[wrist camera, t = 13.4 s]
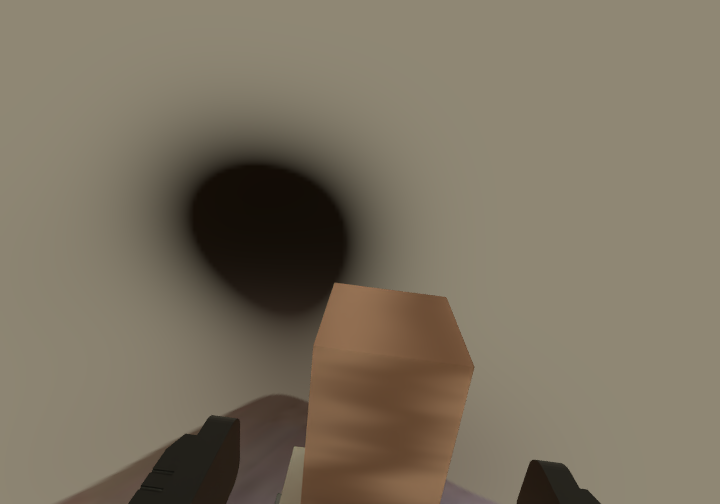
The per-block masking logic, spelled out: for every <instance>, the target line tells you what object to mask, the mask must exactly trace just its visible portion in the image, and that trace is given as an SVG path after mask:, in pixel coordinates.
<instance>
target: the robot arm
mask: <svg viewBox="0 0 720 504" xmlns="http://www.w3.org/2000/svg"><path fill="white" fill-rule="evenodd" d="M239 461H240V421H239V419H236V418H229V417H221V416H214V415H212V416H210V417H209V418H208V419H207V421H206V422H205V424H204V425H203V427H202V428H201V430H200V432H199V433H198V435H191V434H185V435H183V436H182V437H181V438H180V439H178V440H177V441H176V442H175V443H173V444H172V445H171V446H170V447H168V448H167V449H166V450H165V452H164V453H163V455H162V456H161V458H160V459H159V460H158V462H157V463H156V465H155V466H154V468H153V470H152V472H151V473H149V475H148V476H147V478H146V479H145V480H144V482H143V483H142V485H141V488H140V490H137V492H136V493H135V495H134V496H133V498H132V499H131V500H130V502H129V503H128V504H226V502H227V500H228V498H229V495H230V493H231V491H232V488H233V486H234V483H235V480H236V477H237V473H238V468H239ZM517 504H600V502H599V501H598V500H597V499H596V498H595V497H594V496H593V495H592V494H591V493H590V492H589V491H588V490H586V489H580V488H579V487H578V485H577V483H576V481H575V480H574V478H573V476H572V474H571V473H570V471H569V469H568V468H567V467H566V466H565V465H564V464H562V463H555V462H548V461H540V460H532V461H531V462H530V464H529V467H528V469H527V472H526V476H525V478H524V482H523V484H522V487H521V490H520V493H519V496H518V500H517Z"/></svg>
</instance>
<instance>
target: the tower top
mask: <svg viewBox="0 0 720 504" xmlns="http://www.w3.org/2000/svg"><path fill="white" fill-rule="evenodd" d="M304 455H305V448H304V447H296V446H294V449H293V453H292V457H291V460H290V464H289V468H288V472H287V476H286V479H285V483H284V487H283V491H282V495H281V498H280V502H279V504H301V492H302V480H303V468H304Z"/></svg>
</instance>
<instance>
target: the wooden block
mask: <svg viewBox="0 0 720 504" xmlns="http://www.w3.org/2000/svg"><path fill="white" fill-rule="evenodd" d="M473 371H474V365H473V362H472V360H471V357H470V355H469V352H468V350H467V348H466V345H465V342H464V340H463V337H462V335H461V332H460V330H459V327H458V325H457V323H456V320H455V317H454V315H453V312H452V310H451V308H450V305H449V303H448V300H447V298H446V297H441V296H433V295H425V294H417V293H409V292H402V291H394V290H387V289H379V288H371V287H363V286H355V285H348V284H339V283H334V286H333V289H332V292H331V295H330V298H329V301H328V304H327V307H326V310H325V313H324V316H323V319H322V322H321V325H320V328H319V331H318V334H317V337H316V339H315V342H314V346H313V358H312V369H311V383H310V394H309V406H308V419H307V431H306V443H305V455H304V468H303V480H302V492H301V504H440V501H441V497H442V493H443V489H444V485H445V481H446V477H447V473H448V469H449V465H450V461H451V457H452V453H453V449H454V446H455V441H456V438H457V434H458V430H459V426H460V422H461V418H462V414H463V410H464V406H465V402H466V398H467V394H468V390H469V386H470V383H471V378H472V375H473Z"/></svg>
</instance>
